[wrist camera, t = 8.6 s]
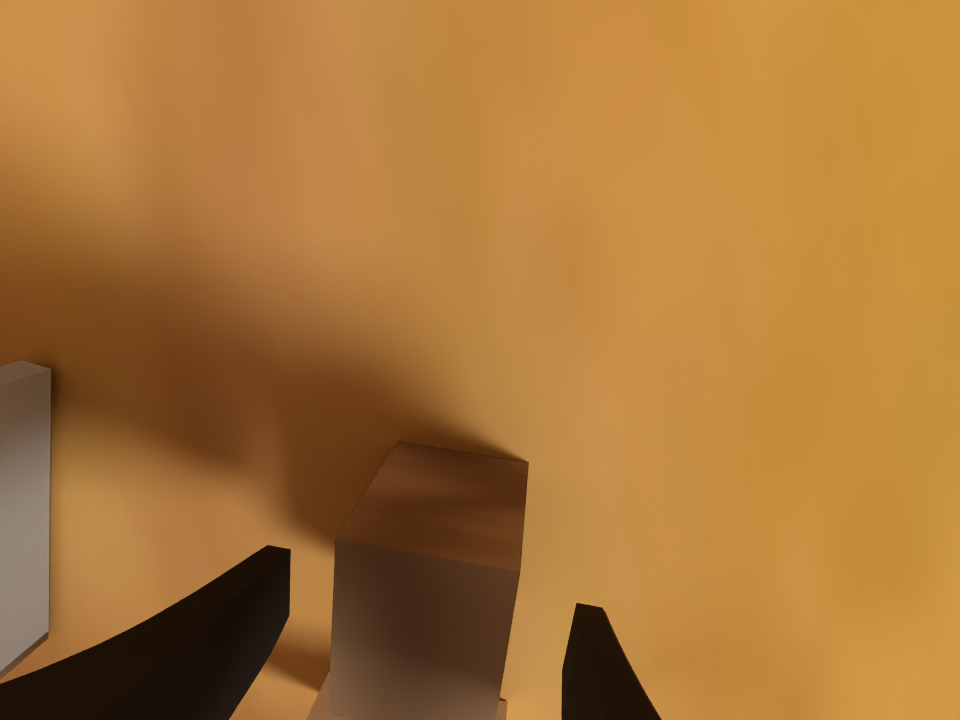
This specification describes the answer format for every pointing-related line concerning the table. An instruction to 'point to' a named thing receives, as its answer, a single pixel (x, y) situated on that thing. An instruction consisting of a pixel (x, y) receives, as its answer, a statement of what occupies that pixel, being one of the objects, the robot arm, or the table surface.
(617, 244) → the table surface
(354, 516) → the block
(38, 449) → the door
